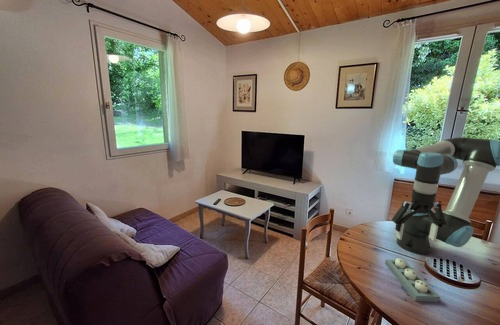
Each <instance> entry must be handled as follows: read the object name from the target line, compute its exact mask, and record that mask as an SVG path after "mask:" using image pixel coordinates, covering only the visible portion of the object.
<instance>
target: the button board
mask: <svg viewBox="0 0 500 325" xmlns="http://www.w3.org/2000/svg"><path fill="white" fill-rule="evenodd" d="M395 260H396V259H387V258H386V259H385V262H384V265H385V266H386V267H387V268H388V270H390V272H391V274H393V276H394V277H395V278H396V279H397V281H398V282H399V283H400V284H401V285H402V287H403V288H404V290H406V291H407V293H408V294H409V295H410V296H411V298H412V299H413V300H414V301H415V302H430V303H431V302H433V303H439V302H440V298H441V296H440V295H439V294H438V293H437V292H436V291H435V290H434V289H433V288H432V287H431V286H430V285H429V284H428V291H427V293H418V291H417V290H416V289H415V288H414V287H415V282H416V280H421V281H423V282H425V283H427V282H426V281H425V280H424V278H422V277H421V276H420V274H419V273H418V272H417V271H416V270H415V269H414V268H413V267H412V266H411V265H410V264H409V263H408V262H407V261H406V260H405V259H403V260H404V261H406V267H405V269H407V268H408V269H412V270H414V271H415V272H416V273H417V274H416V279H415V280H407V279H406V278H405V276H404V272H405V269H398V268H397V267H396V266H395Z"/></svg>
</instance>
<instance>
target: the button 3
mask: <svg viewBox="0 0 500 325" xmlns="http://www.w3.org/2000/svg"><path fill="white" fill-rule="evenodd" d="M425 282H426V281H425ZM425 282H423V281H421V280H416V282H415V287H414V288H415V289H416V290H417V291H418V293H427V291H428V285H429V283H427V282H426V283H425Z"/></svg>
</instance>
